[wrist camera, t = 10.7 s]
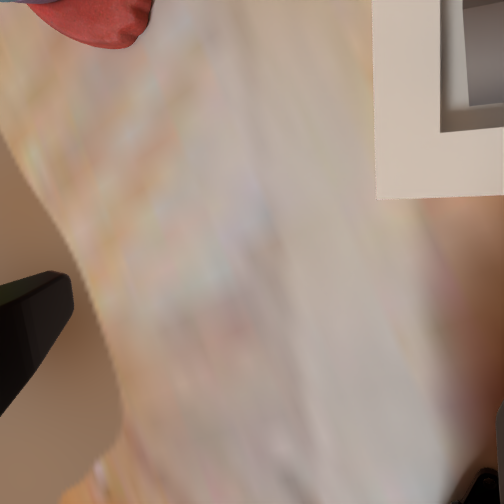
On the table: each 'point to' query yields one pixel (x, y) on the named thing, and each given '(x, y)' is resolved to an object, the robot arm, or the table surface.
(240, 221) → the table surface
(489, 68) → the plug
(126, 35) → the stacking bear
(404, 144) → the socket
